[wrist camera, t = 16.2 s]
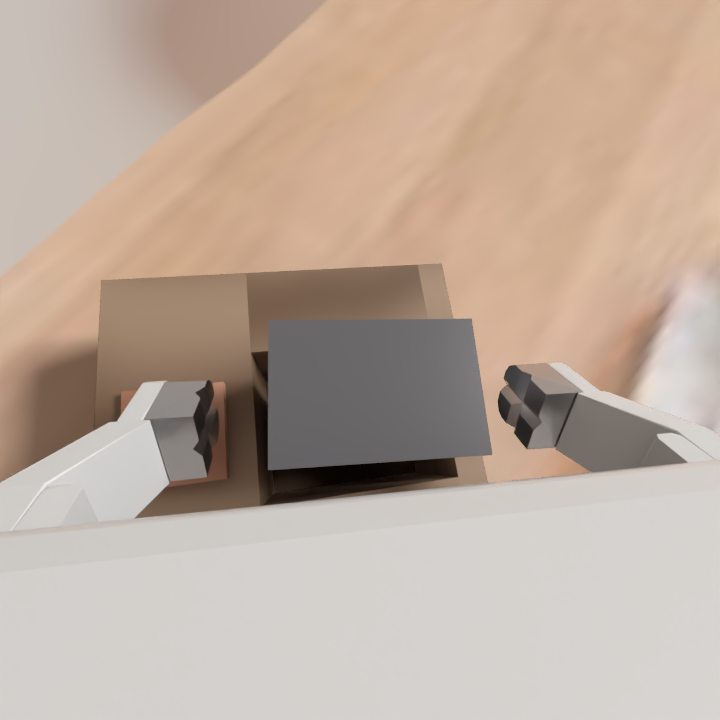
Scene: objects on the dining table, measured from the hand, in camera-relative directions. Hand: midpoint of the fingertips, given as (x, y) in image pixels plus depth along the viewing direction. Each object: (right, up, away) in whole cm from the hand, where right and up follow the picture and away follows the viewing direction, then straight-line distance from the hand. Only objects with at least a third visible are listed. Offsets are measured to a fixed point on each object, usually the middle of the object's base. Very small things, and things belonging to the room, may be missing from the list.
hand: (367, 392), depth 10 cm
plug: (-1, -2, +7) cm, 8 cm away
